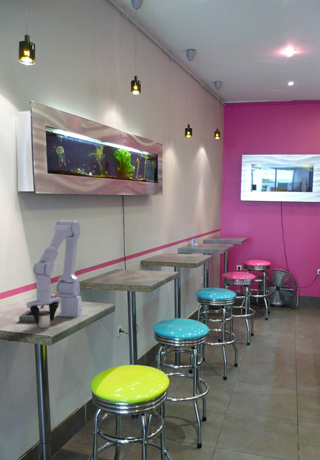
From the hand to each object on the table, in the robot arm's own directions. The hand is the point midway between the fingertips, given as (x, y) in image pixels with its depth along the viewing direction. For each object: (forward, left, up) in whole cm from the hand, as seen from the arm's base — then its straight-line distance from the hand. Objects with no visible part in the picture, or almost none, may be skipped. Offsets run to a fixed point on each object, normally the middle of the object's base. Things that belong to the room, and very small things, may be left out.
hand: (44, 321), depth 180 cm
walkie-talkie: (+10, -38, -3) cm, 40 cm away
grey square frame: (+8, -10, -2) cm, 13 cm away
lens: (0, 0, -2) cm, 2 cm away
